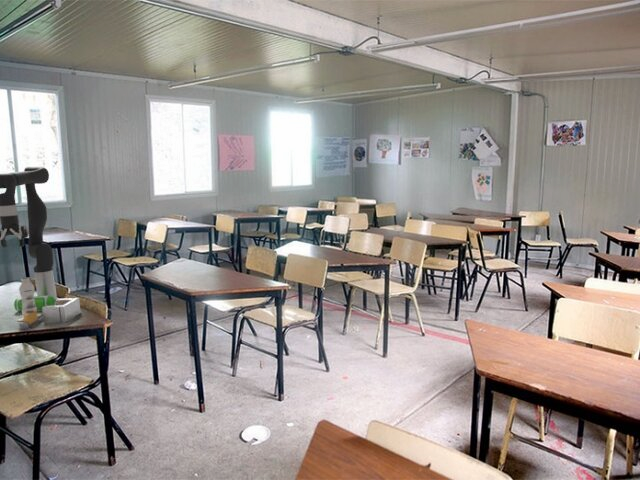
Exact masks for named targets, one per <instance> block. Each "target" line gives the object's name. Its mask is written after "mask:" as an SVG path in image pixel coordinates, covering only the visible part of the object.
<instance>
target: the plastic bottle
mask: <svg viewBox="0 0 640 480" xmlns="http://www.w3.org/2000/svg"><path fill="white" fill-rule="evenodd" d="M20 283H21V284H20V286H19V287H18V290H19V295H20V298H21V299H22V311H21V315H22V316H23V315H25V314H27V313H26V311H27V310H37V307H36V304H35V299H34V296H35V286H34V285H33V283H32V282H31V278H30V277H21V278H20Z"/></svg>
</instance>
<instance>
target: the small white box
mask: <svg viewBox="0 0 640 480" xmlns="http://www.w3.org/2000/svg"><path fill="white" fill-rule="evenodd" d="M54 301H55V304H54V305H51V306H44V307H42V310H41V312H42V313H43V314H42V313H40V314H41V315H39V316H37V317H38V320H36V321H35V322H33V323H31V324H30V325H29V322H26V323H25V322H18V323H19V324H18V325H19V330H29V329H32V328H33V327H35V326H36V325H38V324H40V323H42V322H44V323H43V324H60V323H61V324H64V323H65V324H66V323H68V322H69V321H71V320H72V319H74V318H75V317H77V316H79V315H80V314H81V313H82V311H81V304H80V298H79V297H75V298H74V297H70V298H69V297H68V298H67V297H64V298H63V297H62V298H57V299H56V300H54ZM70 319H71V320H70ZM67 321H68V322H67Z"/></svg>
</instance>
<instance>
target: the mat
mask: <svg viewBox="0 0 640 480" xmlns="http://www.w3.org/2000/svg"><path fill="white" fill-rule="evenodd" d="M41 314H43V312H42V313H37V316H39V315H41ZM16 322H18V323H22V322H24V316H22V317H20V318H18V319H16Z"/></svg>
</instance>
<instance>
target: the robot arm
mask: <svg viewBox="0 0 640 480" xmlns="http://www.w3.org/2000/svg"><path fill="white" fill-rule="evenodd" d="M49 173H50V172H49V171H48V169H47V168H45V167H43V166H27V167H25V168H24V170H23V171H13V172H9V173H8V172H7V173H0V189H5V192H3V193H0V225H1V226H0V243H1V244H0V245H1V246H2V248H6V247H7V246H8V245H7V239H6V238H7V237H8V236H15V237H17V238H18V242H19V247H20V248H22V247H24V246H25V243H26V242H25V239H26V238H28V248H27V249H28V254H29V256H30V257H31V258H33V259H35V260H36V265H34V267H33V274H34V281H35V288H36V296H52V297H53V298H54V301H55V300H57V299H58V295H57V288H56V282H55V277H54V269H53V267H54V254H53V248H52V246H51V245H50V244H48V243H45V242H44V236H43V234H44V230H45V226H46V224H47V220H48V214H47V213H48V211H47V206H46V203H45V202H44V201H43V200H42V198H41V197H40V195H39V194H38V192H37V189H36V185H38V184H46V183H48V181H49V179H50V174H49ZM35 184H36V185H35ZM23 185H24V187H25V193H26V201H27V203H26V204H27V206H26V207H27V209H26V211H27V220H28V228H27V227H26V226H27V225H25V224H24V225H20V221H19V214H18V213H19V212H18V209H17V204H16V198H15V196H16V189H17V187H18V186H23ZM27 229H28V230H27Z"/></svg>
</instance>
